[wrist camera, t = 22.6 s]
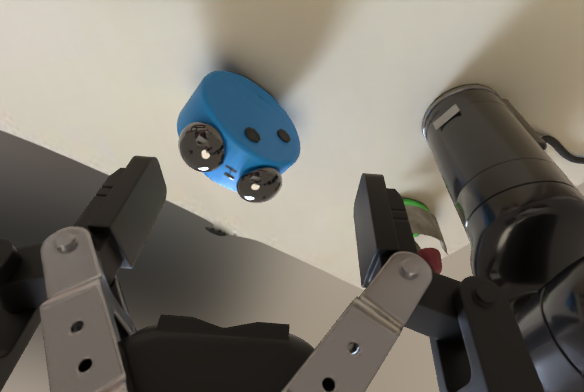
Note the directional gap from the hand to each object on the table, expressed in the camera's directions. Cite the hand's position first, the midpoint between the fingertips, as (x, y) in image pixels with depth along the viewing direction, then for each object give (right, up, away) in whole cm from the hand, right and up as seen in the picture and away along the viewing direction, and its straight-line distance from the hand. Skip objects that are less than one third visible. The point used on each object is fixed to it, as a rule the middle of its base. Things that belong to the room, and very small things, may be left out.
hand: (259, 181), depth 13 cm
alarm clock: (-4, +12, +29) cm, 31 cm away
